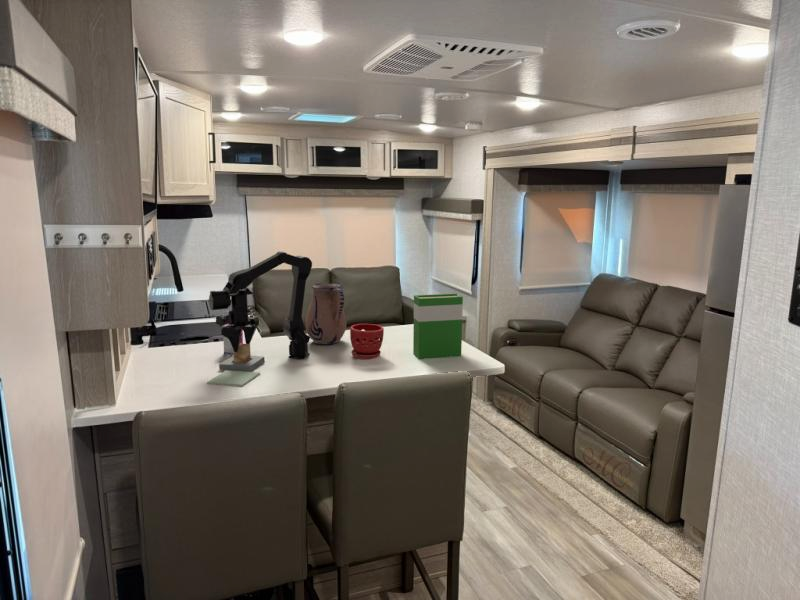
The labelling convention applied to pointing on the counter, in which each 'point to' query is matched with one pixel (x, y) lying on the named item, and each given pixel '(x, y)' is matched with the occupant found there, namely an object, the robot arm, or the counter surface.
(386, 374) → the counter surface
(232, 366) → the charcoal holder
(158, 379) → the counter surface
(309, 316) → the ceramic pitcher
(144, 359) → the counter surface
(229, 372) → the rubber mat
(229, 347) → the supplement box
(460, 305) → the hardback book
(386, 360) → the counter surface
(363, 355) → the plant pot
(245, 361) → the oak block
